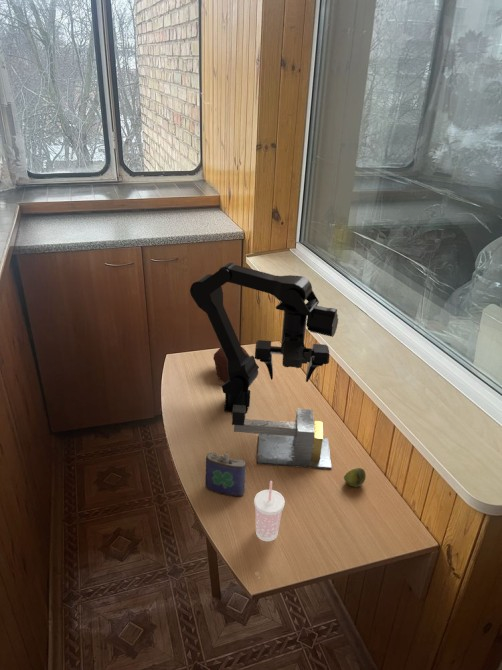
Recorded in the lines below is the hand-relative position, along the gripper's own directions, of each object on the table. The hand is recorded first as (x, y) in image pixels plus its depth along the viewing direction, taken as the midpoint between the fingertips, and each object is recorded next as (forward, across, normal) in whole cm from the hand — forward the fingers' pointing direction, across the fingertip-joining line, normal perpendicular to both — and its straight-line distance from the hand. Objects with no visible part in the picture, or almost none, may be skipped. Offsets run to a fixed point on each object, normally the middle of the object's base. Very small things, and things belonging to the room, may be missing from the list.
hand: (289, 379), depth 135 cm
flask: (+13, -14, -28) cm, 34 cm away
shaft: (+7, -4, -13) cm, 16 cm away
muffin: (+13, -17, +21) cm, 30 cm away
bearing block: (+13, +2, -13) cm, 18 cm away
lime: (+13, +16, -23) cm, 31 cm away
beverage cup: (+13, -4, -39) cm, 41 cm away
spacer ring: (+9, +8, -13) cm, 18 cm away
